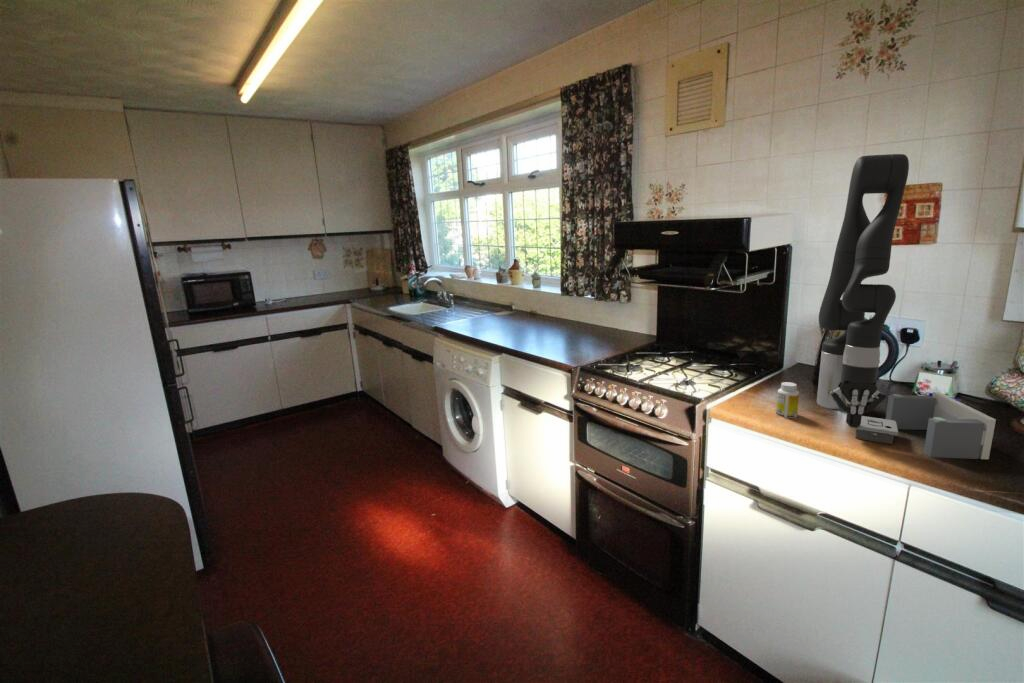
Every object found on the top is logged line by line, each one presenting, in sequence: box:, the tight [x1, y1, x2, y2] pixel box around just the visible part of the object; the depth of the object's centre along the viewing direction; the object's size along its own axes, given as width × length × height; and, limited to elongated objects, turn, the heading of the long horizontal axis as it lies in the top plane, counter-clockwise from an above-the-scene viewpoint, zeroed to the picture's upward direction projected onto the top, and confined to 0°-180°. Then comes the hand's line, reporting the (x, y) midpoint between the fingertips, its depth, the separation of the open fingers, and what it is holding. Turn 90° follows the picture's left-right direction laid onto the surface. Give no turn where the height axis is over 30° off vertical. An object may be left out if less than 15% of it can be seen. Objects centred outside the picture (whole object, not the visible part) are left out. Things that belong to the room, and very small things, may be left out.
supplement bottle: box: [775, 381, 800, 419], centre depth 142 cm, size 6×6×10 cm
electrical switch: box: [853, 415, 899, 445], centre depth 126 cm, size 9×5×9 cm
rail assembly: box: [885, 391, 997, 460], centre depth 122 cm, size 20×12×10 cm, turn 169°
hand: (852, 426), depth 125 cm, fingers closed
